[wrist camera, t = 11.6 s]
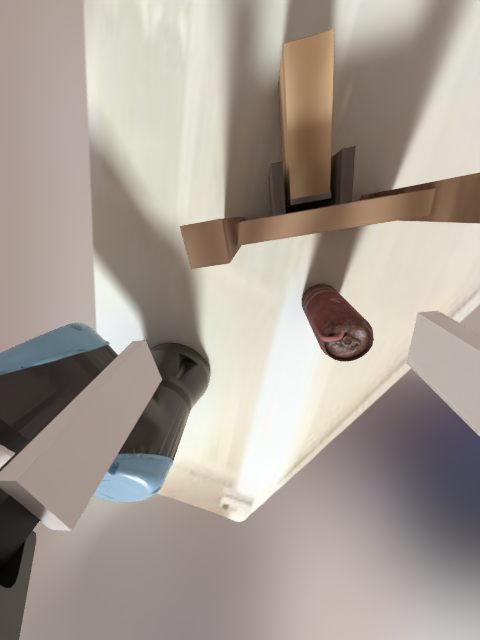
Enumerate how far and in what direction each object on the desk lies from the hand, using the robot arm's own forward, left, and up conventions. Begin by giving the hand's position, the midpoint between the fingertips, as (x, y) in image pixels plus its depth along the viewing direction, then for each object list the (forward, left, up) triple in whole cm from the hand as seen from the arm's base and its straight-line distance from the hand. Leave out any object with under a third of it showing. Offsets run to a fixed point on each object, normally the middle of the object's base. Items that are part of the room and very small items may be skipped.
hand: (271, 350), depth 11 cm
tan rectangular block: (+6, +14, -27) cm, 30 cm away
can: (+9, -9, -27) cm, 29 cm away
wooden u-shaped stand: (+6, +7, -27) cm, 28 cm away
